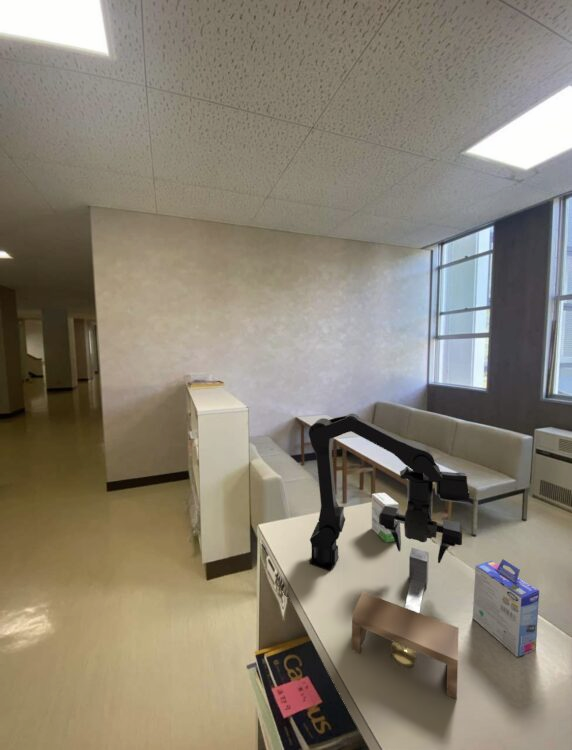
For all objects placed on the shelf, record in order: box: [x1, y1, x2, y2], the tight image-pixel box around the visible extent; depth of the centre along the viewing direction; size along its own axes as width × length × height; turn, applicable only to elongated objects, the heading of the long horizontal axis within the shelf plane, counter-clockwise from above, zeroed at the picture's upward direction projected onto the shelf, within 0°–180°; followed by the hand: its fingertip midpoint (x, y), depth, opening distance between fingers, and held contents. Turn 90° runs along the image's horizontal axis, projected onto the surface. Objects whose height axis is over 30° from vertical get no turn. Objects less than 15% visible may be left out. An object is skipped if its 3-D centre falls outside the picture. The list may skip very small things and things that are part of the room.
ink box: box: [371, 492, 400, 543], centre depth 99 cm, size 9×5×12 cm, turn 15°
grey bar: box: [404, 547, 430, 614], centre depth 73 cm, size 4×18×7 cm, turn 150°
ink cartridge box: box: [472, 558, 540, 657], centre depth 64 cm, size 10×6×14 cm, turn 20°
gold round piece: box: [390, 641, 417, 669], centre depth 60 cm, size 4×4×2 cm
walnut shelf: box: [351, 591, 460, 700], centre depth 59 cm, size 18×7×7 cm, turn 60°
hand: (418, 556), depth 79 cm, fingers open, 9 cm apart
